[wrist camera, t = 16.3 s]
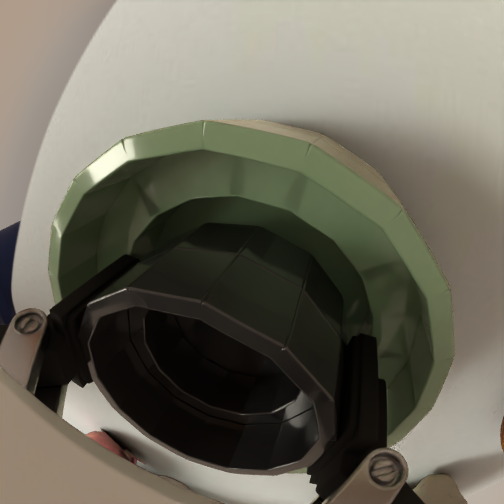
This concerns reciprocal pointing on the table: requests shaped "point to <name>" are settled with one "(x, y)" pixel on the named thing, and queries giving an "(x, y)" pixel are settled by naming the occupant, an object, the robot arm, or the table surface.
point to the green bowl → (280, 223)
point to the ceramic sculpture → (439, 490)
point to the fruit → (502, 434)
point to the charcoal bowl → (224, 350)
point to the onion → (113, 445)
